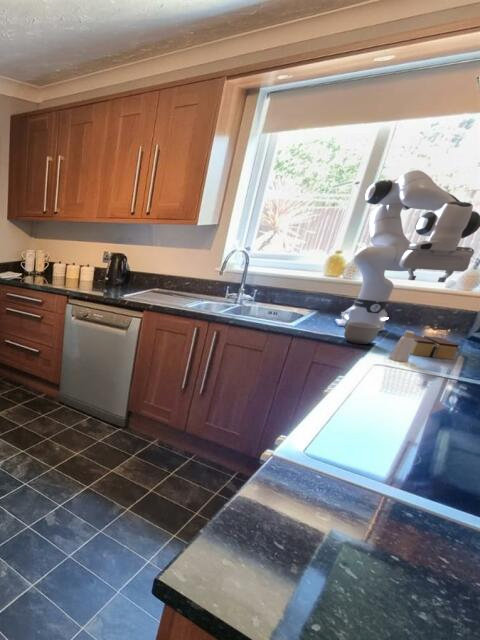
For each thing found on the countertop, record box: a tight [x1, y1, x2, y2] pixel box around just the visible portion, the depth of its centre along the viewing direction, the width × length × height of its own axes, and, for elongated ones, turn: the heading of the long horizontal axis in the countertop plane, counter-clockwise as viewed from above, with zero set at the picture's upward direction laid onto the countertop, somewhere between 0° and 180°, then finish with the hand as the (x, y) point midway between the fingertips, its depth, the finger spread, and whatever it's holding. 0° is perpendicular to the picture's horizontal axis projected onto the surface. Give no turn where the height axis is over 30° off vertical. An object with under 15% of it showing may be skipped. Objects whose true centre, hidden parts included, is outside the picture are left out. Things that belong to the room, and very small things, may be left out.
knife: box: [429, 345, 439, 359], centre depth 174 cm, size 22×2×4 cm, turn 157°
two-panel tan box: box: [401, 333, 459, 360], centre depth 170 cm, size 12×12×6 cm
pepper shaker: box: [388, 330, 416, 363], centre depth 159 cm, size 5×5×11 cm
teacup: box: [343, 321, 380, 345], centre depth 184 cm, size 14×11×8 cm
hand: (425, 281), depth 174 cm, fingers open, 8 cm apart
